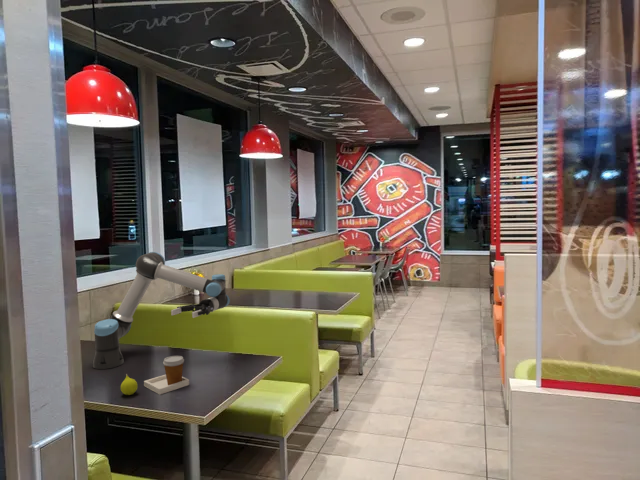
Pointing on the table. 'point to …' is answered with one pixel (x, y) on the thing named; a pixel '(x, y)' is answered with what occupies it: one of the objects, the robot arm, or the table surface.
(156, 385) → the square tray
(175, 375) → the disposable coffee cup
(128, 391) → the ornament
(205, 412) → the table surface
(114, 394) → the table surface
